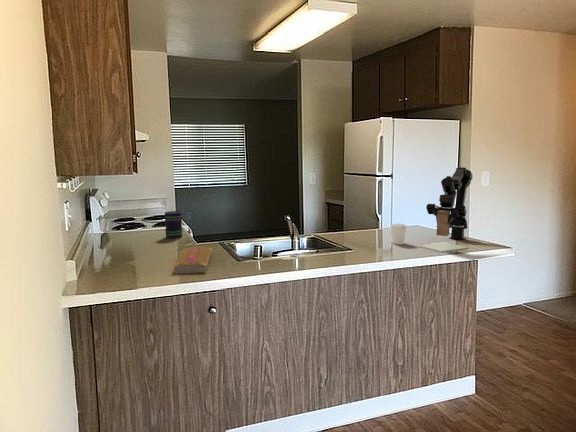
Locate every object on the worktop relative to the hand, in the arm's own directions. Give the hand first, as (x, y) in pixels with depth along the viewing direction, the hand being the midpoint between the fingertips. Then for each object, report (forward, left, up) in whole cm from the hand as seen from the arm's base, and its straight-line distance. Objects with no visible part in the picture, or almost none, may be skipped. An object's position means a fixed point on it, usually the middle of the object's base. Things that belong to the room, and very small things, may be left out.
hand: (442, 223), depth 231 cm
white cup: (+7, -24, -14) cm, 28 cm away
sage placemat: (-5, -4, -13) cm, 15 cm away
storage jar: (+106, -107, -14) cm, 151 cm away
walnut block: (-1, -1, -6) cm, 6 cm away
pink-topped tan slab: (+115, -37, -14) cm, 122 cm away
